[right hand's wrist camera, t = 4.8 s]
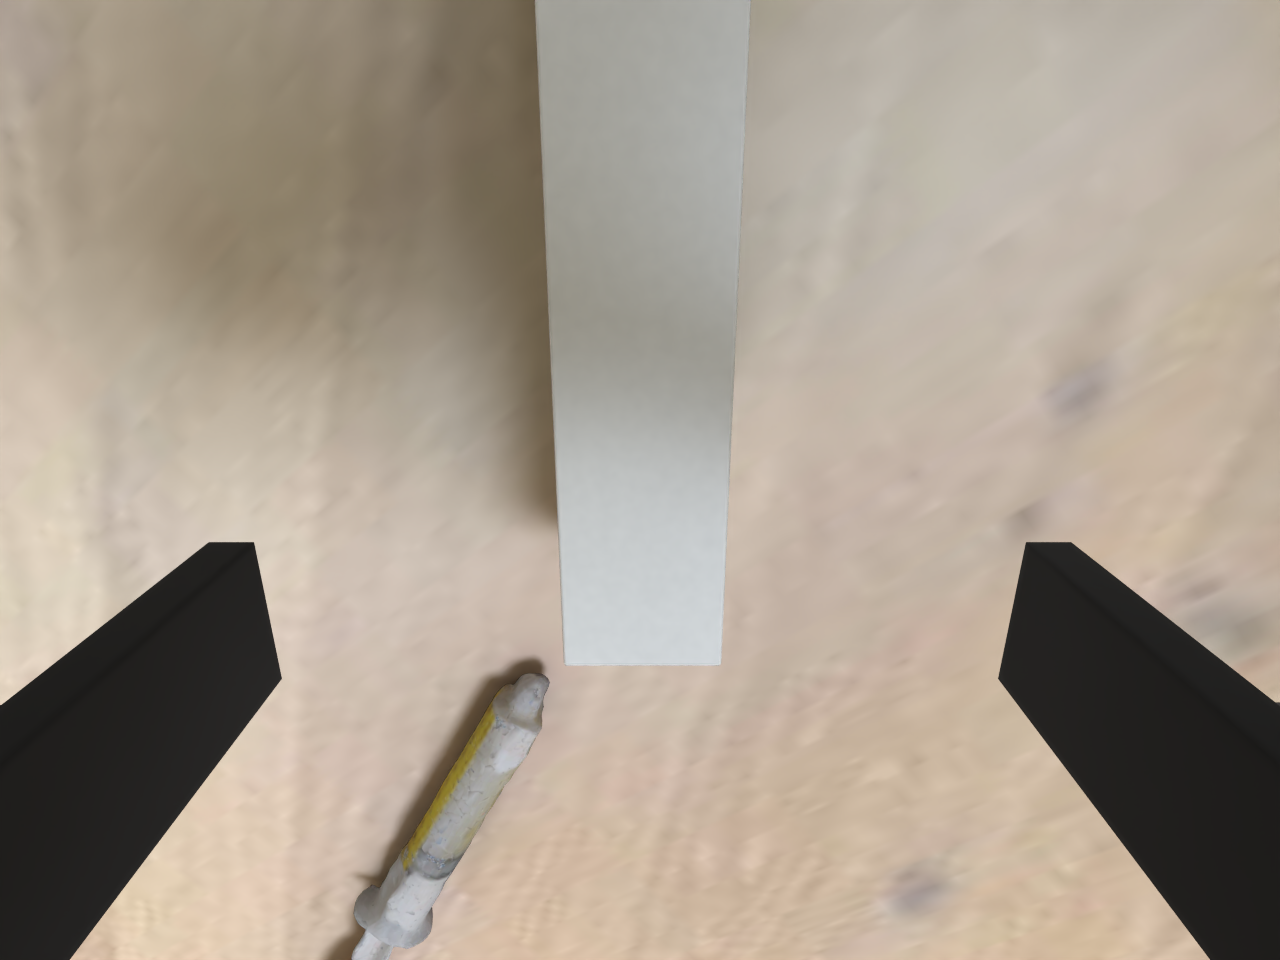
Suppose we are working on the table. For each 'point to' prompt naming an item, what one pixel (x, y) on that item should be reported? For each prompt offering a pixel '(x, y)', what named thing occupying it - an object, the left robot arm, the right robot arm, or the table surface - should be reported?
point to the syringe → (450, 822)
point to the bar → (642, 315)
